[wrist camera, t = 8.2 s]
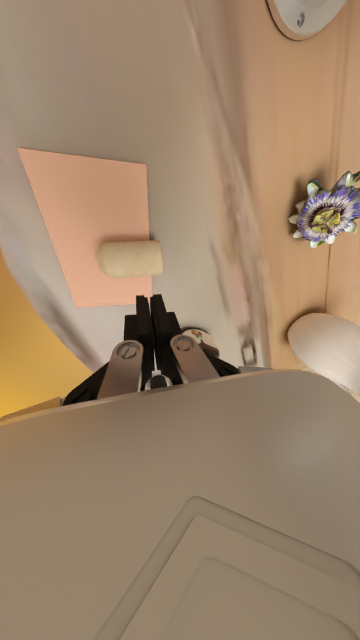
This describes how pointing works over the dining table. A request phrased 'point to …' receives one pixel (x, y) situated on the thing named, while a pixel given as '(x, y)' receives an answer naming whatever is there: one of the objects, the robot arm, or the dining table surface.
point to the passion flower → (328, 210)
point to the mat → (91, 219)
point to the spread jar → (203, 341)
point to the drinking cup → (158, 382)
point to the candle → (130, 259)
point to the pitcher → (328, 347)
